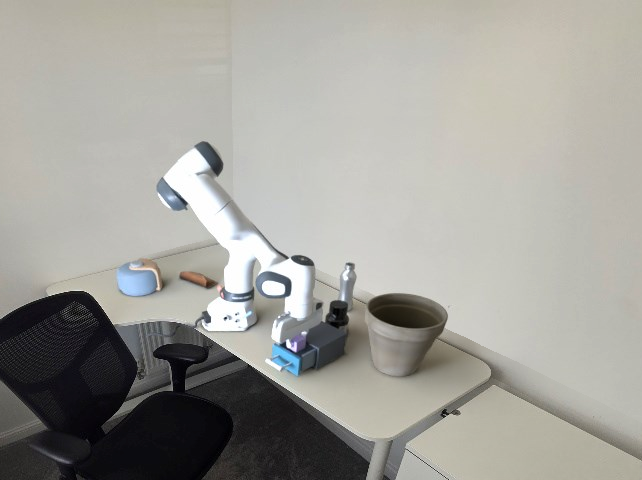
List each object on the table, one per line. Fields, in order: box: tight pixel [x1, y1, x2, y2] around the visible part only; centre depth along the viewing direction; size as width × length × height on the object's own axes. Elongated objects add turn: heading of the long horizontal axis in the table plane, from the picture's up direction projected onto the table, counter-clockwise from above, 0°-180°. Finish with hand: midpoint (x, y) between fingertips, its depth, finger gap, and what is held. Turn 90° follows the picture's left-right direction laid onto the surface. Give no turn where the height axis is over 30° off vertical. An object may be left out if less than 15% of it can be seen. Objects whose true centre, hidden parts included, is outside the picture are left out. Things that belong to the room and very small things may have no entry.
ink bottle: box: [324, 299, 350, 334], centre depth 166 cm, size 10×9×12 cm
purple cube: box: [287, 334, 306, 352], centre depth 147 cm, size 4×4×4 cm
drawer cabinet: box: [300, 320, 348, 370], centre depth 155 cm, size 15×14×9 cm
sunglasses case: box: [178, 270, 218, 289], centre depth 207 cm, size 18×7×7 cm
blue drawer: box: [265, 341, 317, 377], centre depth 149 cm, size 19×12×7 cm, turn 130°
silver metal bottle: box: [337, 261, 357, 312], centre depth 179 cm, size 6×7×20 cm
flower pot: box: [364, 292, 449, 378], centre depth 145 cm, size 25×25×22 cm
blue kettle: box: [115, 257, 164, 297], centre depth 200 cm, size 19×20×12 cm
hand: (296, 343), depth 147 cm, fingers closed on purple cube, 4 cm apart
